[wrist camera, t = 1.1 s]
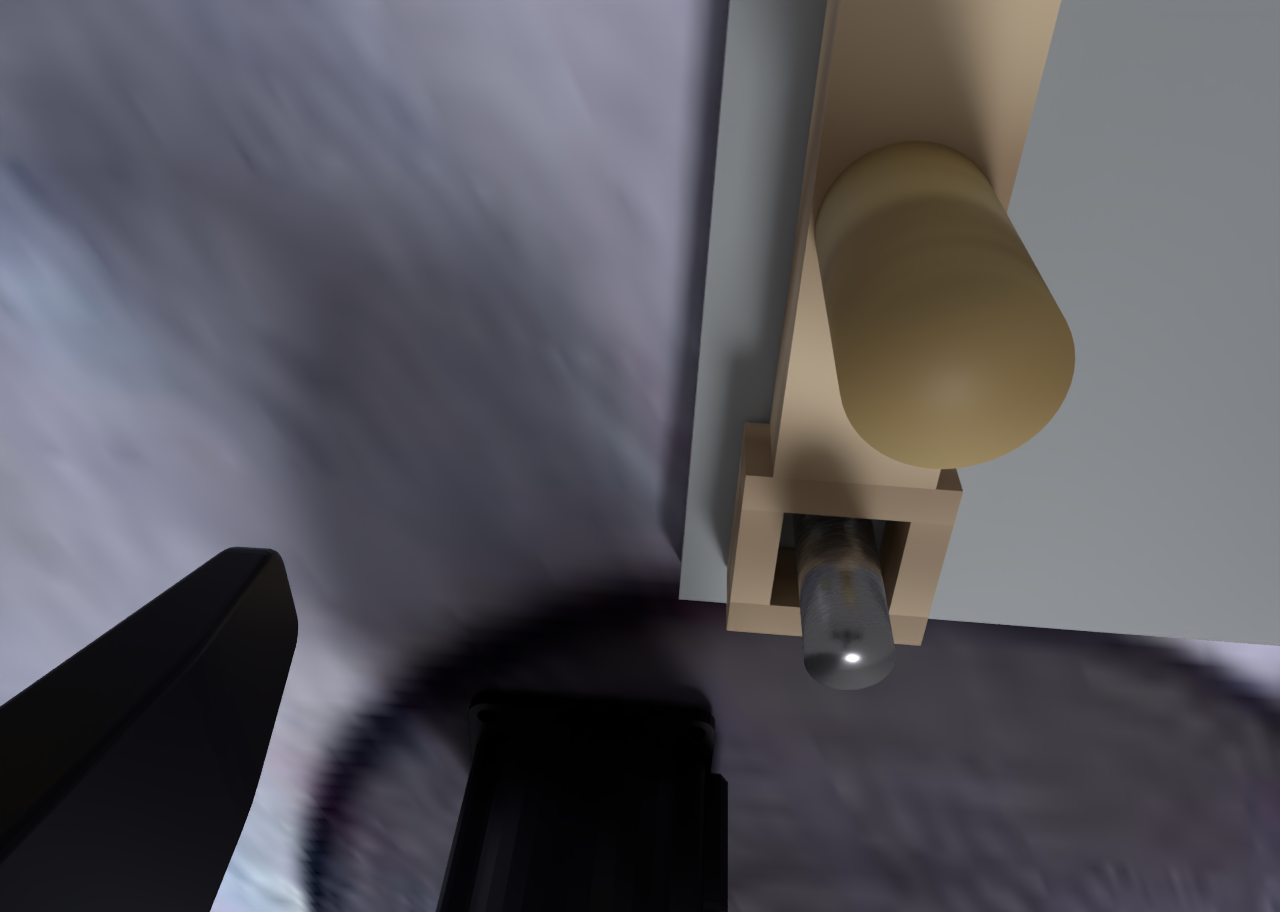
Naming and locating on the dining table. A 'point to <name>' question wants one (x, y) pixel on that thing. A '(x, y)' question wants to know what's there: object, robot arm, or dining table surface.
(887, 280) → the latch bar
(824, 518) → the peg
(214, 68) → the dining table surface
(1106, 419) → the board
